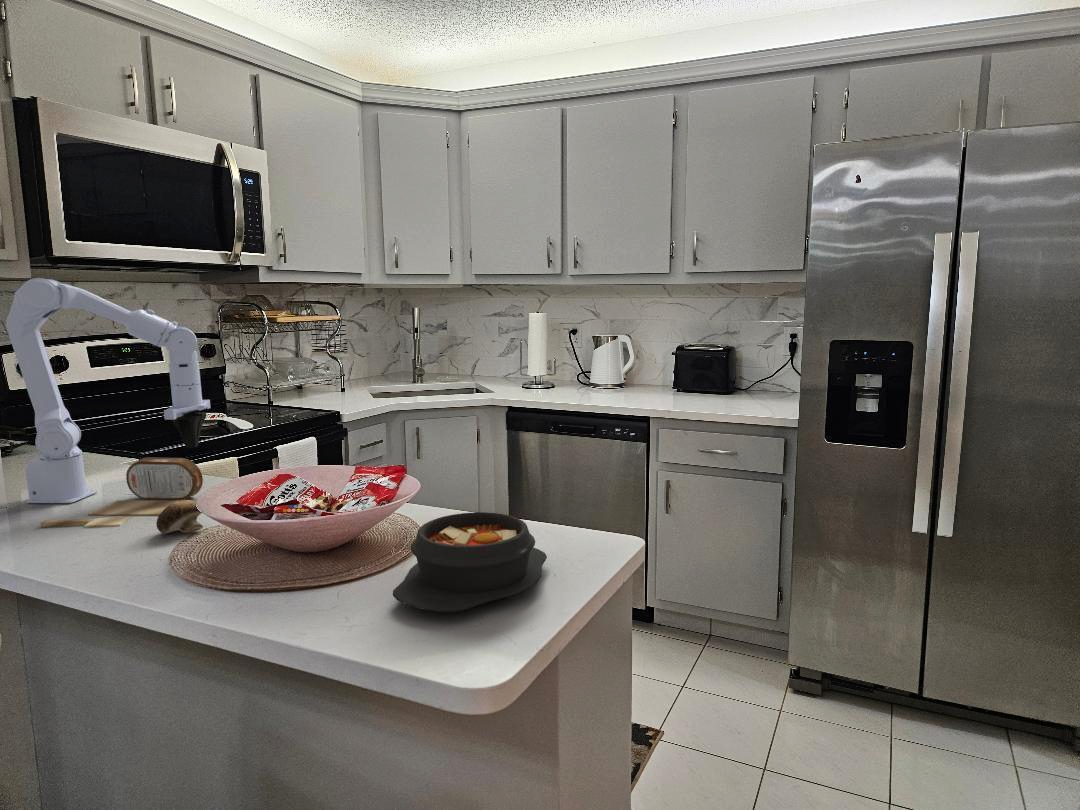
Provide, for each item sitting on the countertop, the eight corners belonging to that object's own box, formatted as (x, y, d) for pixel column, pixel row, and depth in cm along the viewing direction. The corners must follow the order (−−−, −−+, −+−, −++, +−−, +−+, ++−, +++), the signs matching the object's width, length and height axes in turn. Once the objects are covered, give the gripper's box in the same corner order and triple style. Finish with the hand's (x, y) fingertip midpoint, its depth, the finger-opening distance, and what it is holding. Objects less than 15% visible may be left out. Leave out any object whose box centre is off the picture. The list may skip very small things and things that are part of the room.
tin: (205, 497, 144) (201, 456, 143) (196, 501, 141) (192, 460, 140) (136, 496, 146) (131, 456, 144) (125, 500, 142) (121, 459, 141)
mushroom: (217, 514, 121) (195, 485, 121) (174, 542, 117) (150, 512, 116) (212, 525, 128) (190, 497, 128) (170, 552, 123) (148, 523, 123)
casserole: (476, 640, 83) (473, 571, 81) (359, 606, 92) (356, 544, 91) (576, 568, 104) (576, 512, 103) (473, 546, 113) (472, 496, 112)
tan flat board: (87, 515, 133) (87, 513, 133) (117, 502, 141) (117, 500, 141) (175, 515, 132) (175, 514, 132) (199, 502, 140) (199, 500, 140)
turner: (35, 529, 125) (35, 525, 125) (49, 521, 129) (49, 517, 129) (120, 526, 126) (119, 522, 126) (131, 518, 131) (130, 514, 131)
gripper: (185, 388, 143) (191, 454, 145) (221, 380, 158) (226, 439, 160) (151, 389, 144) (158, 454, 146) (190, 380, 158) (196, 440, 160)
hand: (191, 446), depth 153 cm, fingers closed
